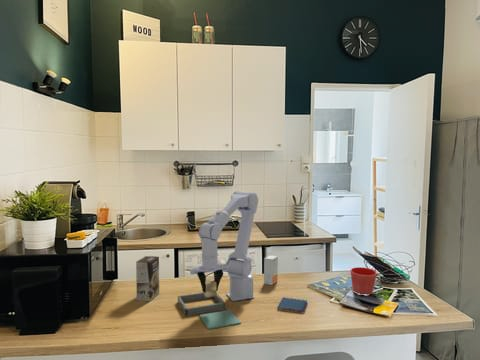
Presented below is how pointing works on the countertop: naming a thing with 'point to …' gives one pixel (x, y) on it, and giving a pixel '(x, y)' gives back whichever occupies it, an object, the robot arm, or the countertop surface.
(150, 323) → the countertop surface
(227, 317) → the teal board
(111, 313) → the countertop surface
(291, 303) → the dark blue flat block
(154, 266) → the coffee box
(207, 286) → the maple block
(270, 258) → the skincare box
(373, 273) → the flower pot
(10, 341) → the countertop surface
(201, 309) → the gray rectangular frame
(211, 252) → the robot arm
